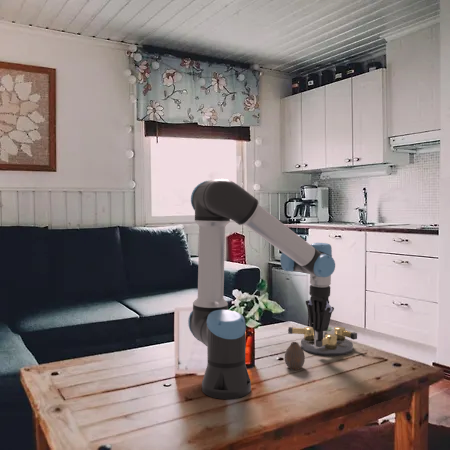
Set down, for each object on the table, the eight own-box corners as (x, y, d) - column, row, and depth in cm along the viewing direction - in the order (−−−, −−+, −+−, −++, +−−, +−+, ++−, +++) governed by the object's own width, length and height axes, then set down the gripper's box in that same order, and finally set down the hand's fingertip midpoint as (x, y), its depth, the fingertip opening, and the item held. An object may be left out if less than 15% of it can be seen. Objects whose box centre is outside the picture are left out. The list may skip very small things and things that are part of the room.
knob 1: (315, 338, 191) (315, 327, 191) (314, 341, 187) (314, 330, 187) (289, 336, 194) (289, 325, 194) (288, 339, 190) (288, 328, 189)
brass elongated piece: (331, 338, 191) (331, 327, 190) (339, 337, 193) (339, 326, 193) (351, 345, 182) (351, 333, 181) (359, 343, 184) (359, 332, 184)
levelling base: (363, 350, 183) (364, 329, 183) (325, 359, 173) (325, 337, 172) (327, 337, 200) (328, 318, 200) (290, 345, 190) (290, 325, 190)
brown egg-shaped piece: (283, 370, 162) (283, 344, 162) (286, 363, 169) (286, 339, 168) (303, 372, 160) (303, 346, 160) (305, 365, 167) (306, 340, 166)
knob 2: (329, 344, 182) (329, 333, 182) (339, 347, 179) (339, 335, 179) (312, 351, 175) (312, 339, 175) (322, 353, 172) (323, 341, 172)
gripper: (300, 282, 177) (299, 344, 179) (324, 289, 166) (322, 354, 168) (315, 281, 181) (313, 341, 183) (340, 287, 170) (337, 351, 172)
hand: (318, 347), depth 176 cm, fingers closed
